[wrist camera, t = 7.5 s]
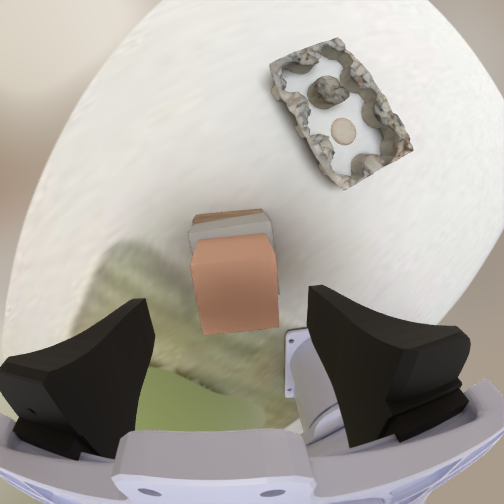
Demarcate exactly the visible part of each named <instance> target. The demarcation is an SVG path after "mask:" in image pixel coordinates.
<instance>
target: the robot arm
mask: <svg viewBox="0 0 504 504" xmlns="http://www.w3.org/2000/svg"><path fill="white" fill-rule="evenodd" d="M307 327H308V328H307V329H300V330H292V331H288V332H287V333H286V336H285V391H284V394H285V397H286V398H292V397H294V398H295V402H296V405H297V409H298V412H299V416H300V420H301V423H302V427H303V431H304V432H303V433H302V434H301V435H302V436H301V435H298V434H295V433H292V432H290V431H287V430H284V429H249V430H234V431H212V432H210V431H209V432H183V431H161V430H141V431H135V422H136V414H137V407H138V400H139V396H140V392H141V388H142V385H143V382H144V379H145V376H146V372H147V369H148V366H149V363H150V360H151V357H152V353H153V348H154V341H155V333H154V329H153V326H152V322H151V318H150V314H149V310H148V306H147V302H146V298H142V299H132V300H130V301H128V302H127V303H125V304H124V305H122V306H121V307H119V308H118V309H116V310H115V311H114V312H112V313H111V314H109V315H108V316H107V317H105V318H104V319H102V320H101V321H99V322H98V323H96V324H95V325H93V326H92V327H90V328H88V329H87V330H85V331H83V332H82V333H80V334H78V335H76V336H74V337H72V338H70V339H68V340H66V341H63V342H61V343H58V344H56V345H54V346H51V347H48V348H45V349H42V350H39V351H35V352H31V353H27V354H22V355H17V356H10V357H8V358H7V359H6V360H5V362H4V363H3V364H2V366H1V367H0V392H1V393H2V395H3V396H4V398H5V399H6V400H7V402H8V403H9V404H10V406H11V407H12V409H13V410H14V411H15V413H16V414H17V415H18V416H19V418H18V420H17V422H15V421H14V420H13V419H11V418H10V417H8V416H6V415H3V414H1V413H0V476H1V477H2V478H3V479H4V480H6V481H7V482H8V483H9V484H11V485H12V486H14V487H15V488H17V489H19V490H20V491H22V492H24V493H26V494H27V495H29V496H31V497H33V498H35V499H37V500H38V501H40V502H42V503H44V504H427V502H426V498H427V497H428V495H429V493H430V492H431V491H432V490H434V489H436V488H437V487H439V486H440V485H442V484H444V483H445V482H447V481H448V480H450V479H451V478H453V477H454V476H456V475H457V474H458V473H460V472H461V471H463V470H464V469H466V468H467V467H469V466H470V465H471V464H473V463H474V462H475V461H477V460H478V459H479V458H480V457H482V456H483V455H484V454H486V453H487V452H488V451H489V449H490V448H492V446H493V445H494V444H495V443H496V442H497V441H498V440H499V439H500V438H501V437H502V435H503V434H504V397H503V395H502V394H501V393H500V392H499V391H498V390H497V389H496V387H495V386H494V385H493V384H492V383H491V382H490V381H489V380H488V379H487V378H485V379H483V380H481V381H480V382H478V383H476V384H475V385H473V386H471V387H470V388H468V389H467V390H466V391H465V392H464V393H463V392H462V391H461V390H460V389H459V388H460V387H461V386H462V382H461V381H460V380H459V379H458V376H459V374H460V372H461V370H462V368H463V366H464V364H465V362H466V360H467V357H468V355H469V351H470V345H471V343H470V339H469V337H468V336H467V335H466V334H465V333H464V332H463V331H462V330H460V329H459V328H458V327H457V326H441V325H440V326H439V325H429V324H421V323H415V322H410V321H406V320H401V319H397V318H394V317H390V316H387V315H385V314H382V313H379V312H376V311H374V310H371V309H369V308H367V307H365V306H362V305H360V304H358V303H356V302H354V301H352V300H350V299H348V298H347V297H345V296H343V295H341V294H339V293H337V292H336V291H334V290H332V289H330V288H328V287H326V286H324V285H316V286H309V292H308V311H307ZM290 339H293V340H292V341H289V340H290ZM289 388H290V389H289Z"/></svg>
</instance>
